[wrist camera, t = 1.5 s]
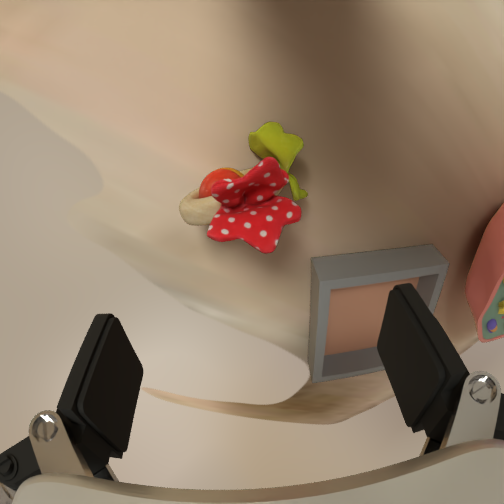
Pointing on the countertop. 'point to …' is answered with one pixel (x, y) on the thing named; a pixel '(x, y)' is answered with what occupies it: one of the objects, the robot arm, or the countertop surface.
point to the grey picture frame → (362, 304)
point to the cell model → (488, 281)
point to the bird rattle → (250, 194)
